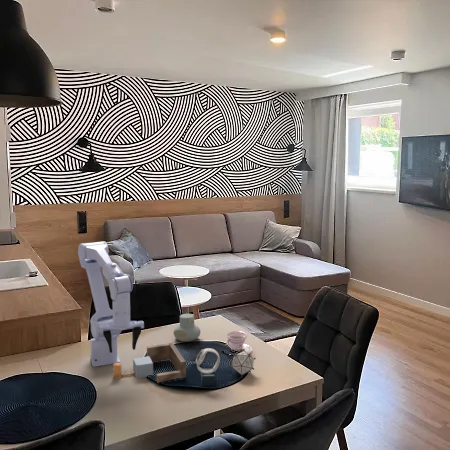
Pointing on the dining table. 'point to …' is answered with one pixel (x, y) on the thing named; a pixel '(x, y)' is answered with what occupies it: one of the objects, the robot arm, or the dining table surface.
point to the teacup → (238, 341)
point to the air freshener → (186, 329)
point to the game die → (242, 362)
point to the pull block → (136, 368)
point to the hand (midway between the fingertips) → (122, 350)
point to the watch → (207, 374)
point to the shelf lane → (163, 354)
